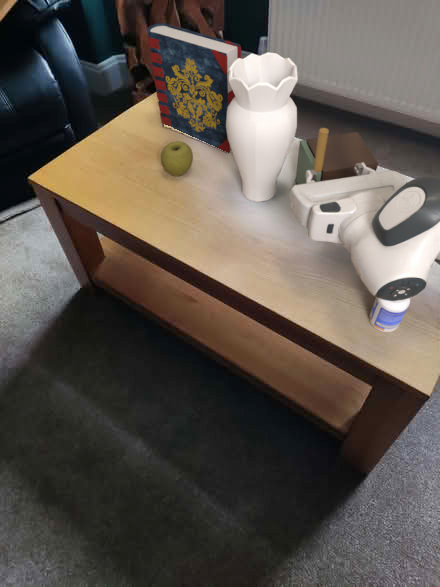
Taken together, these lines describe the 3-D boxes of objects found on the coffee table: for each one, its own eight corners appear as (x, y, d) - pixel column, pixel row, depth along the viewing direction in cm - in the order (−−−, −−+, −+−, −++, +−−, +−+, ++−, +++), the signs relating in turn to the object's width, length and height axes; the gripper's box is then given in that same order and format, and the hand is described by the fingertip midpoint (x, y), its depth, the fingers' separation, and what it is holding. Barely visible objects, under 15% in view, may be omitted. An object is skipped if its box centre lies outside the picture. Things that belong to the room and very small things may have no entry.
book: (156, 125, 122) (139, 30, 103) (172, 114, 126) (159, 20, 106) (227, 154, 112) (224, 55, 93) (243, 141, 116) (242, 43, 96)
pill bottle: (405, 327, 78) (422, 294, 70) (379, 337, 77) (394, 305, 69) (387, 304, 81) (402, 271, 74) (362, 314, 80) (375, 281, 73)
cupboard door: (301, 178, 105) (311, 100, 89) (316, 211, 98) (330, 132, 82) (293, 179, 105) (302, 101, 89) (308, 212, 97) (321, 133, 82)
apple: (200, 171, 109) (197, 146, 103) (174, 185, 106) (170, 160, 100) (182, 158, 112) (179, 133, 107) (157, 171, 109) (152, 146, 104)
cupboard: (348, 172, 106) (357, 131, 97) (366, 204, 99) (378, 163, 90) (300, 179, 105) (306, 139, 96) (316, 211, 98) (323, 171, 89)
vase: (275, 166, 108) (284, 43, 85) (299, 202, 100) (316, 77, 77) (220, 179, 106) (213, 57, 83) (240, 218, 98) (239, 93, 75)
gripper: (426, 195, 70) (391, 147, 79) (305, 213, 69) (283, 162, 77) (414, 223, 75) (382, 175, 84) (301, 241, 74) (280, 190, 82)
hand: (334, 169), depth 80 cm, fingers open, 8 cm apart
